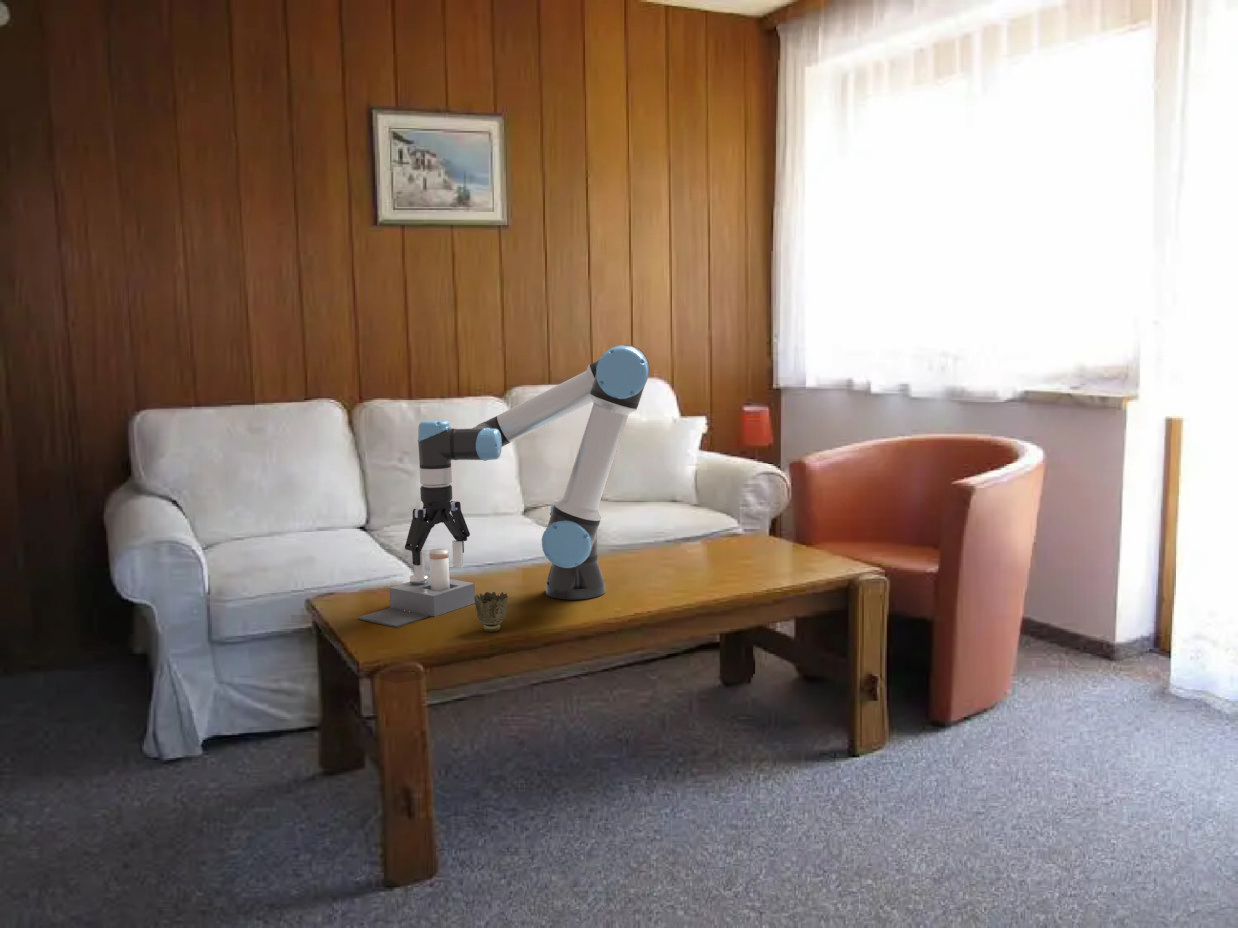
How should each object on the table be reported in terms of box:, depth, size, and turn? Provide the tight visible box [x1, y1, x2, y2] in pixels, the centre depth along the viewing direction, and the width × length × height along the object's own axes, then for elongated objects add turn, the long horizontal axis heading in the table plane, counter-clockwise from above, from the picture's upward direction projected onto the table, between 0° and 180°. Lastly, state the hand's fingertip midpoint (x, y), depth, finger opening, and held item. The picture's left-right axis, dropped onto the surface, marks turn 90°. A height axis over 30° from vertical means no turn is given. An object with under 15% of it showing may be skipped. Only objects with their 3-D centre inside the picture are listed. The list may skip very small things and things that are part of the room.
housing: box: [388, 575, 476, 618], centre depth 258 cm, size 15×14×5 cm
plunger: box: [409, 574, 429, 585], centre depth 260 cm, size 4×4×6 cm
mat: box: [357, 607, 429, 629], centre depth 248 cm, size 13×10×1 cm
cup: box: [474, 591, 509, 633], centre depth 236 cm, size 8×7×8 cm
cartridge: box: [428, 548, 450, 592], centre depth 256 cm, size 5×5×14 cm
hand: (439, 572), depth 255 cm, fingers open, 12 cm apart
